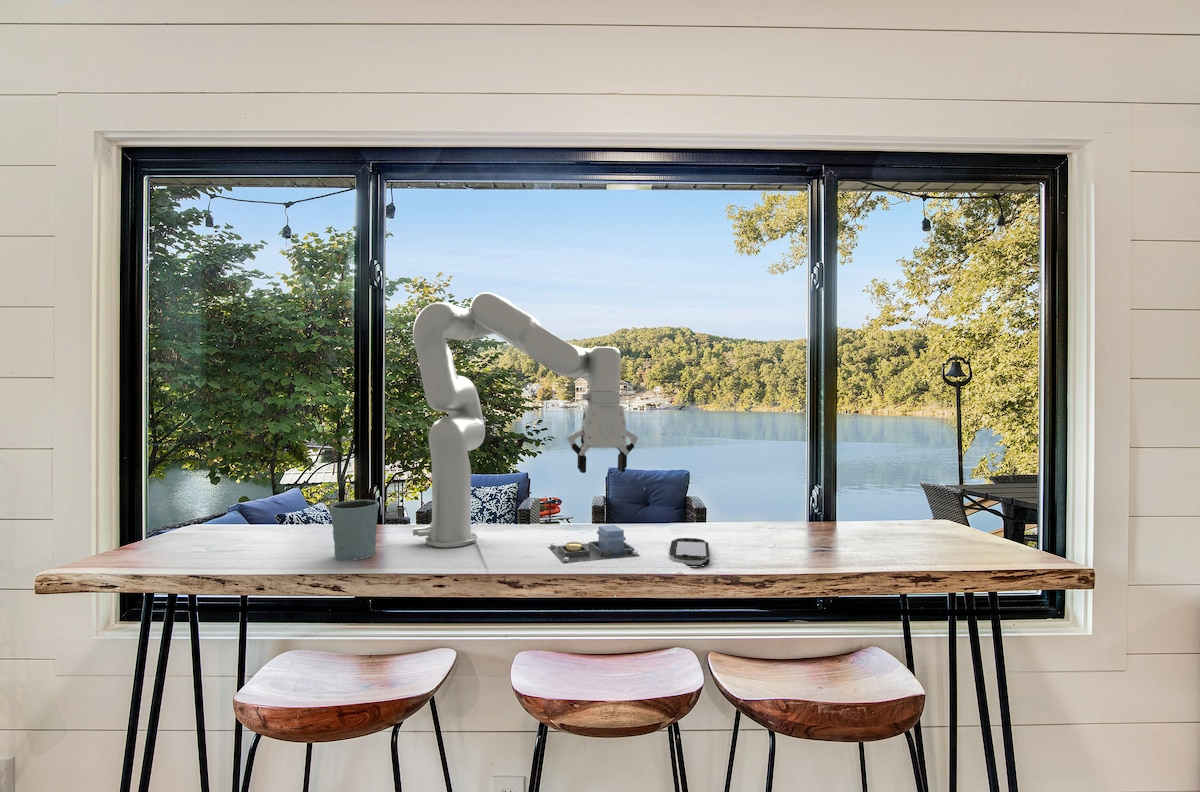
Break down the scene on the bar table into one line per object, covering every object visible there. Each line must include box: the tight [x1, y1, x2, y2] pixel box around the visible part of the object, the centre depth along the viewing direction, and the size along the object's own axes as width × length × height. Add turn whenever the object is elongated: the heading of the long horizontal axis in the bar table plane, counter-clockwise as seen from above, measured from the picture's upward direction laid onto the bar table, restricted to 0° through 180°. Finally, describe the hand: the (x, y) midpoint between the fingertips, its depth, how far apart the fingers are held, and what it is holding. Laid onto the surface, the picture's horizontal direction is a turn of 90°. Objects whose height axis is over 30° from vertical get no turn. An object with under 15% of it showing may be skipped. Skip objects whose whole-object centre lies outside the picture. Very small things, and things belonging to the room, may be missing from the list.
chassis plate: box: [547, 540, 641, 564], centre depth 131 cm, size 18×14×2 cm
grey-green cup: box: [329, 499, 380, 561], centre depth 130 cm, size 10×10×12 cm
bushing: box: [565, 541, 583, 552], centre depth 129 cm, size 4×4×2 cm
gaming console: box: [668, 537, 711, 567], centre depth 131 cm, size 19×9×2 cm, turn 170°
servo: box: [596, 524, 627, 553], centre depth 132 cm, size 4×8×5 cm, turn 20°
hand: (602, 471), depth 134 cm, fingers open, 9 cm apart
